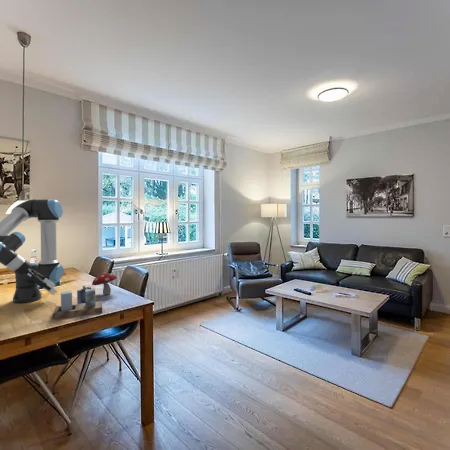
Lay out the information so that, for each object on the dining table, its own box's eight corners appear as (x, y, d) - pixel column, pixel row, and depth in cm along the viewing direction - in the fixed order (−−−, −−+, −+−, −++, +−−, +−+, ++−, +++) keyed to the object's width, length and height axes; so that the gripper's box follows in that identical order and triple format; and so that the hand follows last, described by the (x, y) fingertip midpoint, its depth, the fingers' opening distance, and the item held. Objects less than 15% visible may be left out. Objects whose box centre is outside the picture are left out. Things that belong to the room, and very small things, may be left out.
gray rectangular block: (62, 316, 154) (61, 294, 153) (61, 313, 158) (60, 292, 158) (72, 314, 157) (71, 292, 156) (71, 311, 161) (70, 290, 160)
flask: (78, 305, 172) (78, 287, 171) (75, 304, 173) (75, 287, 173) (92, 301, 180) (92, 284, 179) (89, 300, 181) (89, 283, 181)
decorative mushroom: (97, 299, 183) (97, 276, 182) (88, 294, 194) (87, 272, 193) (121, 294, 194) (120, 272, 193) (111, 289, 205) (110, 269, 204)
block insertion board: (53, 319, 150) (52, 296, 149) (56, 311, 161) (55, 290, 160) (102, 312, 159) (101, 291, 159) (102, 305, 170) (101, 286, 170)
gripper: (14, 267, 153) (47, 289, 162) (11, 276, 133) (50, 301, 142) (25, 256, 156) (58, 279, 165) (25, 263, 135) (62, 289, 145)
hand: (54, 289), depth 154 cm, fingers open, 13 cm apart
